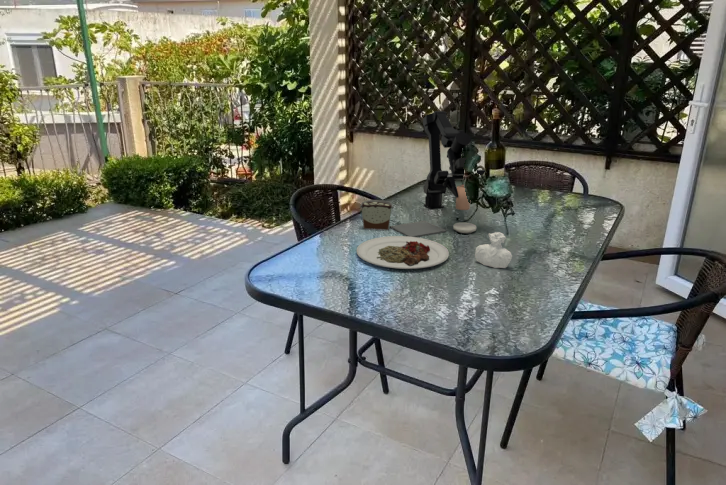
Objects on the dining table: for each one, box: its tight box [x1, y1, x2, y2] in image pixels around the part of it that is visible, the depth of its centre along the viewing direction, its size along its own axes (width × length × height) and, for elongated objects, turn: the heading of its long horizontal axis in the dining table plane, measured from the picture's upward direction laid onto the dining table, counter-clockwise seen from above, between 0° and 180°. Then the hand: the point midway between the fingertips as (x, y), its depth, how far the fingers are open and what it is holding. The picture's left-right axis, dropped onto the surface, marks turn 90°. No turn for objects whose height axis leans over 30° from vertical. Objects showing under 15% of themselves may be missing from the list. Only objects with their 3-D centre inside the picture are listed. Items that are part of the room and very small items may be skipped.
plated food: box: [356, 235, 450, 270], centre depth 173 cm, size 30×30×3 cm
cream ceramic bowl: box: [452, 221, 477, 234], centre depth 198 cm, size 8×8×2 cm
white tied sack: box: [474, 231, 513, 269], centre depth 166 cm, size 12×8×11 cm
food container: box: [359, 199, 394, 231], centre depth 200 cm, size 12×6×10 cm, turn 84°
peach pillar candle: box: [455, 183, 471, 211], centre depth 194 cm, size 5×5×9 cm
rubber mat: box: [389, 220, 447, 238], centre depth 199 cm, size 16×14×1 cm
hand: (464, 197), depth 193 cm, fingers closed on peach pillar candle, 5 cm apart
